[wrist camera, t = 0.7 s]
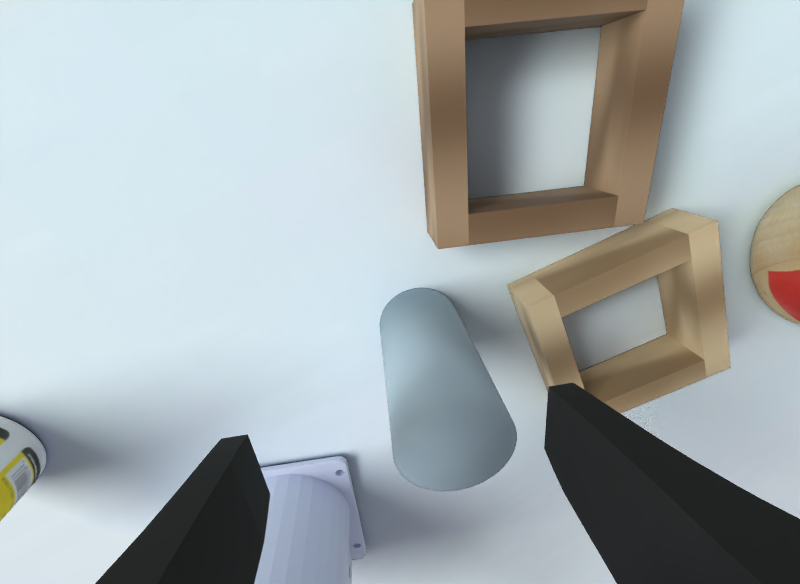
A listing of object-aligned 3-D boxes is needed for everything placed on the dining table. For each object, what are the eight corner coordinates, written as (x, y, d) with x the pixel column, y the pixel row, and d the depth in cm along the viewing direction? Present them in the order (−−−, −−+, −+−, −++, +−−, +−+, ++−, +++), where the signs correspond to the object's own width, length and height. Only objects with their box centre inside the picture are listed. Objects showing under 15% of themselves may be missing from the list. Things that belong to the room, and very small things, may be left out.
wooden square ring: (606, 209, 18) (643, 223, 15) (427, 232, 17) (438, 249, 15) (638, -18, 14) (692, -44, 12) (412, 3, 14) (423, -20, 11)
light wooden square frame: (691, 341, 21) (730, 367, 19) (551, 401, 22) (573, 433, 20) (672, 208, 18) (718, 221, 16) (506, 284, 19) (527, 307, 16)
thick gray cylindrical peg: (458, 350, 20) (514, 481, 13) (384, 361, 20) (399, 499, 13) (456, 283, 18) (519, 389, 11) (375, 293, 18) (385, 408, 11)
